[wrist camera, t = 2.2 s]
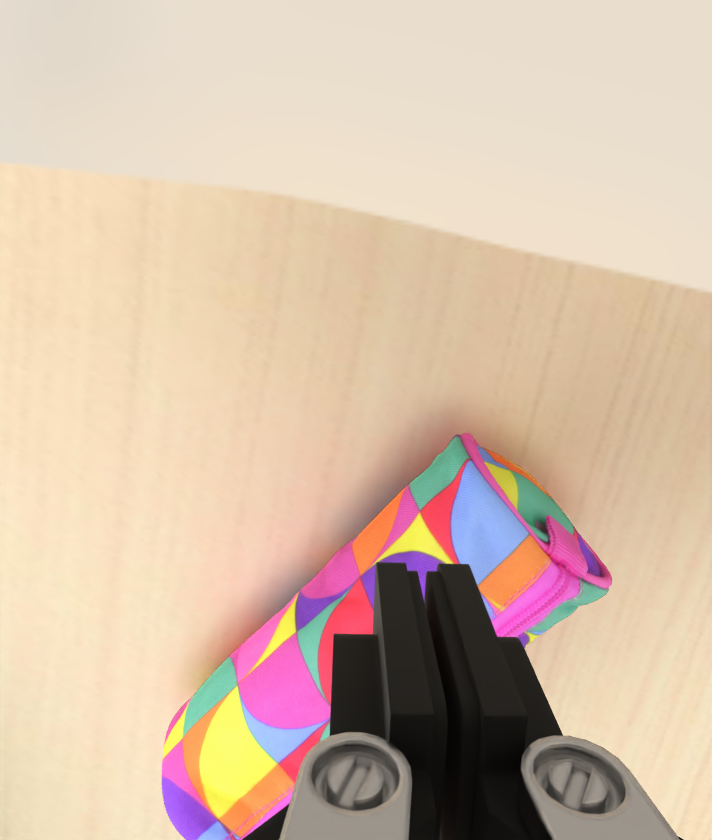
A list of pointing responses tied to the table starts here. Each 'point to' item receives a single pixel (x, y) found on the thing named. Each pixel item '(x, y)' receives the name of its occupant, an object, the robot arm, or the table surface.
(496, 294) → the table surface
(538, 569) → the pencil case
